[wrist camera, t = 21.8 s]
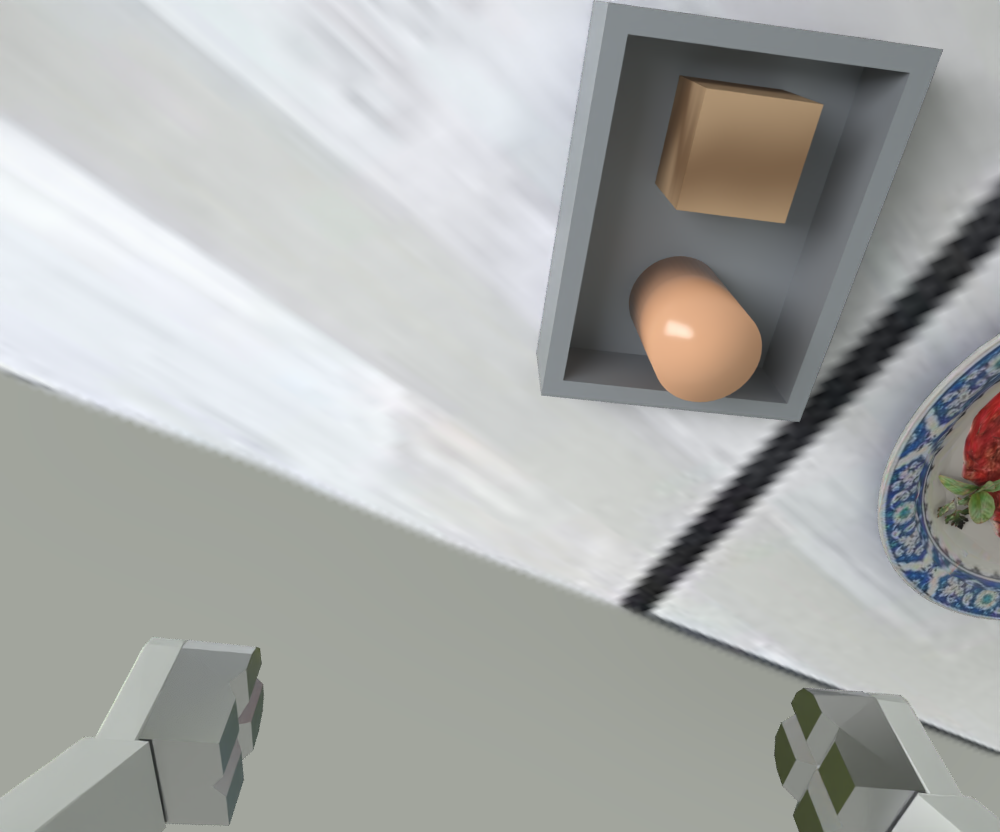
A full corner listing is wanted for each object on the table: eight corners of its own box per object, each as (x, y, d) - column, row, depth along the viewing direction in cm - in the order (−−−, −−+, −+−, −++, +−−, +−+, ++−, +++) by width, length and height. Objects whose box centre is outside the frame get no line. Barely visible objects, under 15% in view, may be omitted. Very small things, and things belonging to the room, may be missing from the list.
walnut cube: (679, 75, 34) (706, 88, 30) (782, 89, 34) (823, 104, 30) (654, 183, 37) (676, 209, 32) (750, 195, 37) (784, 223, 33)
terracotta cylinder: (638, 251, 38) (666, 299, 32) (731, 261, 39) (775, 309, 33) (620, 338, 41) (643, 397, 35) (707, 346, 41) (745, 406, 35)
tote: (593, 0, 33) (608, 2, 29) (886, 41, 34) (943, 49, 30) (536, 353, 42) (541, 395, 38) (769, 378, 43) (799, 421, 39)
